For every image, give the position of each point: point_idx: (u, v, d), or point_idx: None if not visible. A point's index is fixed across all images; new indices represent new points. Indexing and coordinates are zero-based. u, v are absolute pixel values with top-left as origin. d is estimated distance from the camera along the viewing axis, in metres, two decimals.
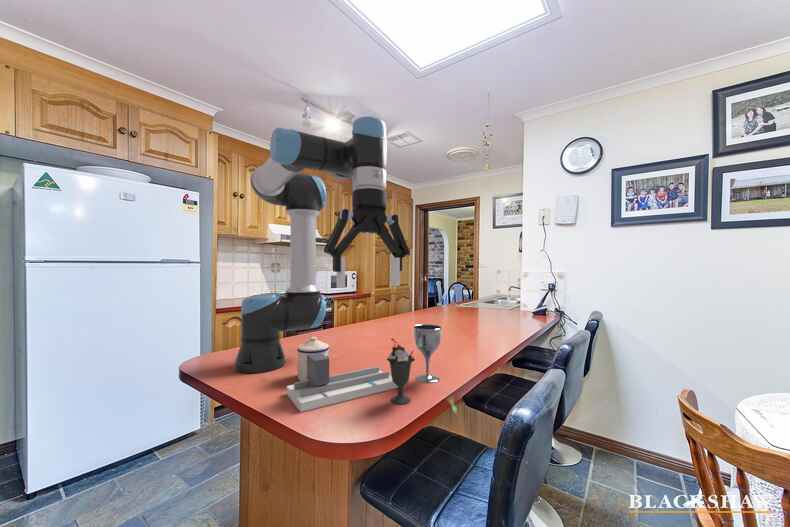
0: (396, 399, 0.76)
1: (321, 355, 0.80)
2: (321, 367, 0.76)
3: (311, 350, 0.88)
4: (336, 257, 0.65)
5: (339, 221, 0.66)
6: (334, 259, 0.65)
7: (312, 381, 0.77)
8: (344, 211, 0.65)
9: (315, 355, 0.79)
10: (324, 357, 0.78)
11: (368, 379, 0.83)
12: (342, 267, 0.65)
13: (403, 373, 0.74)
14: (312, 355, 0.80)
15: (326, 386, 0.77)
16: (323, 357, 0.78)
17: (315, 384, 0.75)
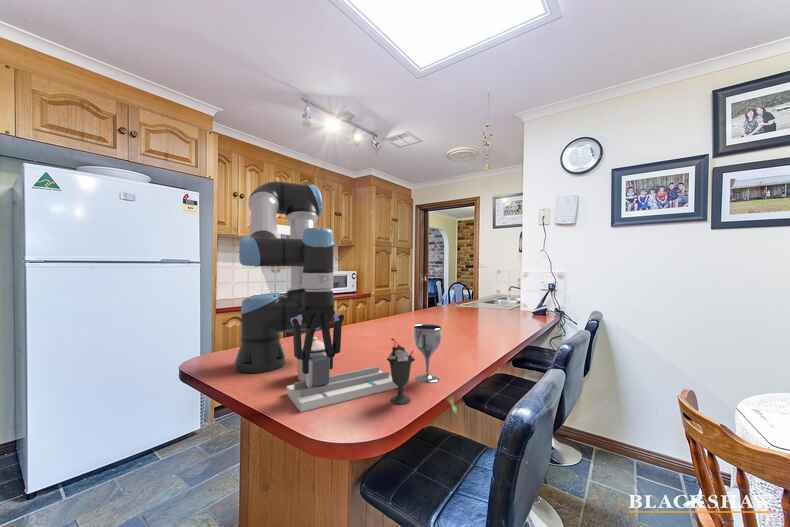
0: (396, 399, 0.76)
1: (321, 355, 0.80)
2: (321, 367, 0.76)
3: (311, 350, 0.88)
4: (305, 362, 0.76)
5: (294, 329, 0.75)
6: (303, 363, 0.77)
7: (312, 381, 0.77)
8: (293, 322, 0.74)
9: (315, 355, 0.79)
10: (324, 357, 0.78)
11: (368, 379, 0.83)
12: (309, 370, 0.76)
13: (403, 373, 0.74)
14: (312, 355, 0.80)
15: (326, 386, 0.77)
16: (323, 357, 0.78)
17: (315, 384, 0.75)
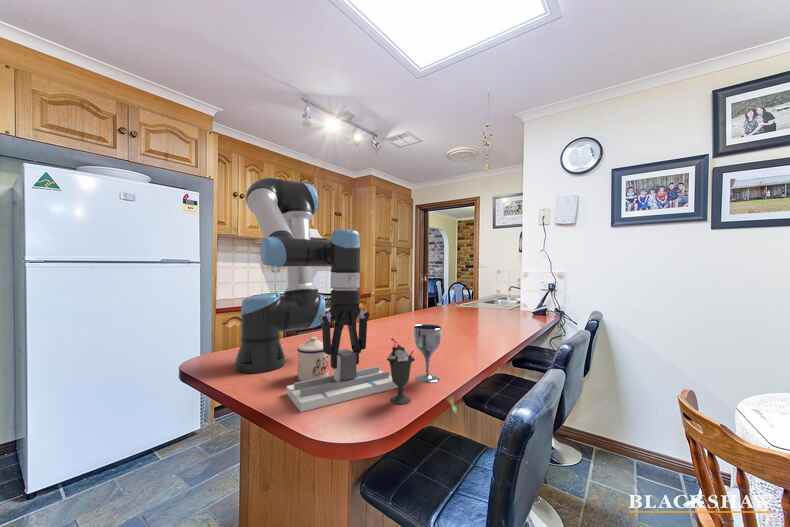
0: (396, 399, 0.76)
1: (348, 351, 0.84)
2: (349, 362, 0.80)
3: (311, 350, 0.88)
4: (333, 357, 0.80)
5: (323, 326, 0.80)
6: (332, 358, 0.81)
7: None
8: (323, 319, 0.78)
9: (342, 351, 0.84)
10: (351, 353, 0.82)
11: (368, 379, 0.83)
12: (338, 365, 0.80)
13: (403, 373, 0.74)
14: (339, 351, 0.84)
15: (326, 386, 0.77)
16: (350, 353, 0.82)
17: (344, 378, 0.79)
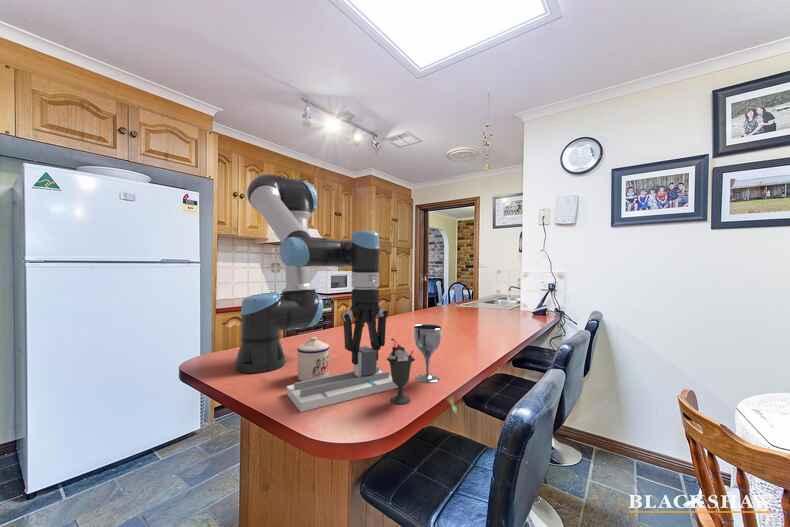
0: (396, 399, 0.76)
1: (368, 348, 0.87)
2: (370, 358, 0.84)
3: (311, 350, 0.88)
4: (354, 353, 0.84)
5: (345, 324, 0.83)
6: (353, 354, 0.84)
7: None
8: (346, 317, 0.82)
9: (362, 348, 0.87)
10: (371, 349, 0.85)
11: (368, 379, 0.83)
12: (359, 361, 0.84)
13: (403, 373, 0.74)
14: (359, 348, 0.87)
15: (326, 386, 0.77)
16: (370, 349, 0.85)
17: (365, 374, 0.83)
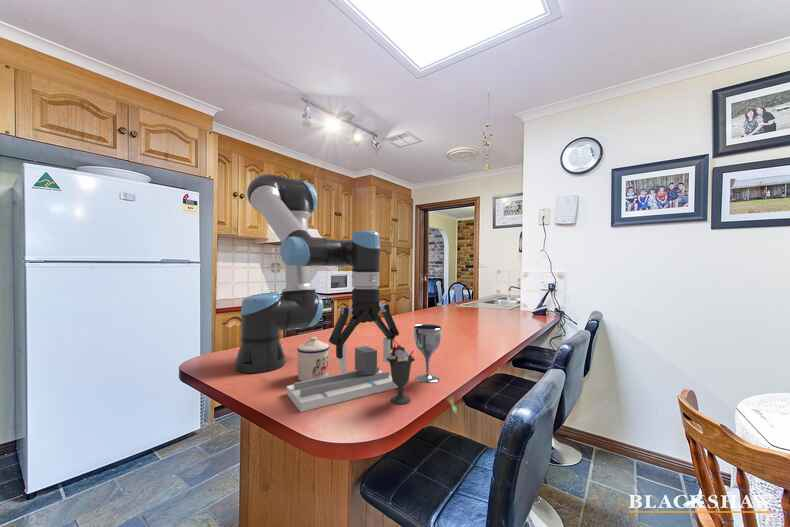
0: (396, 399, 0.76)
1: (368, 348, 0.87)
2: (370, 358, 0.84)
3: (311, 350, 0.88)
4: (339, 347, 0.81)
5: (341, 317, 0.82)
6: (337, 348, 0.81)
7: (361, 371, 0.84)
8: (345, 309, 0.82)
9: (363, 348, 0.87)
10: (372, 349, 0.86)
11: (368, 379, 0.83)
12: (343, 355, 0.81)
13: (403, 373, 0.74)
14: (360, 348, 0.87)
15: (326, 386, 0.77)
16: (371, 349, 0.86)
17: (365, 374, 0.83)
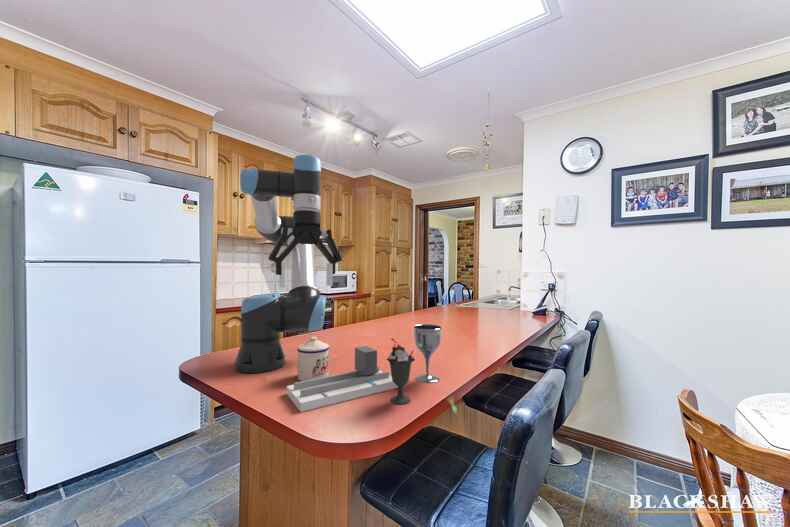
0: (396, 399, 0.76)
1: (368, 348, 0.87)
2: (370, 358, 0.84)
3: (311, 350, 0.88)
4: (277, 263, 0.85)
5: (280, 236, 0.86)
6: (276, 265, 0.85)
7: (361, 371, 0.84)
8: (284, 228, 0.85)
9: (363, 348, 0.87)
10: (372, 349, 0.86)
11: (368, 379, 0.83)
12: (282, 271, 0.85)
13: (403, 373, 0.74)
14: (360, 348, 0.87)
15: (326, 386, 0.77)
16: (371, 349, 0.86)
17: (365, 374, 0.83)
